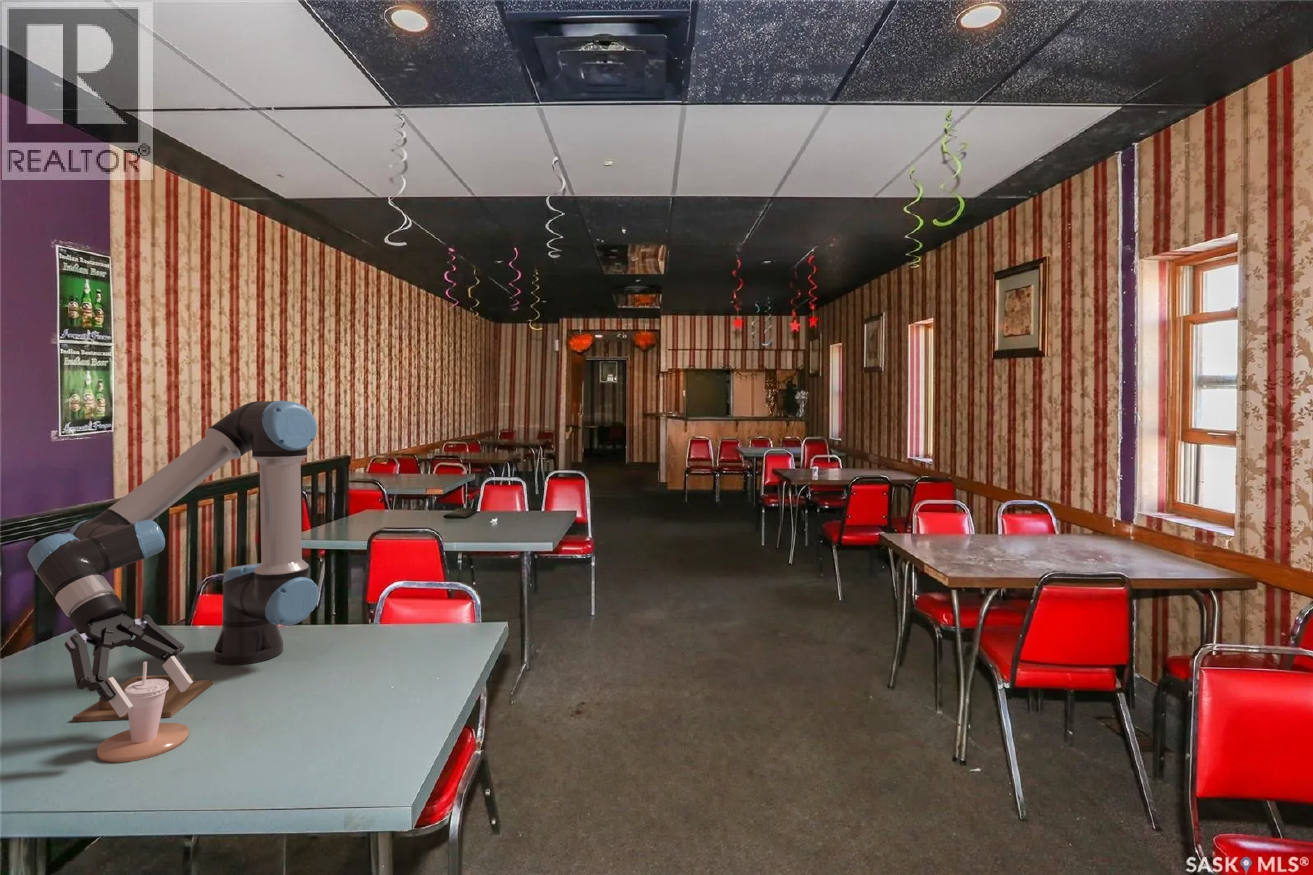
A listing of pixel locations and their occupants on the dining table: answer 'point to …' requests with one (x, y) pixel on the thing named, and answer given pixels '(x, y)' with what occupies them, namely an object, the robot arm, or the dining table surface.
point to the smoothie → (145, 707)
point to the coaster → (142, 744)
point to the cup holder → (170, 707)
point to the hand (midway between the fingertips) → (158, 699)
